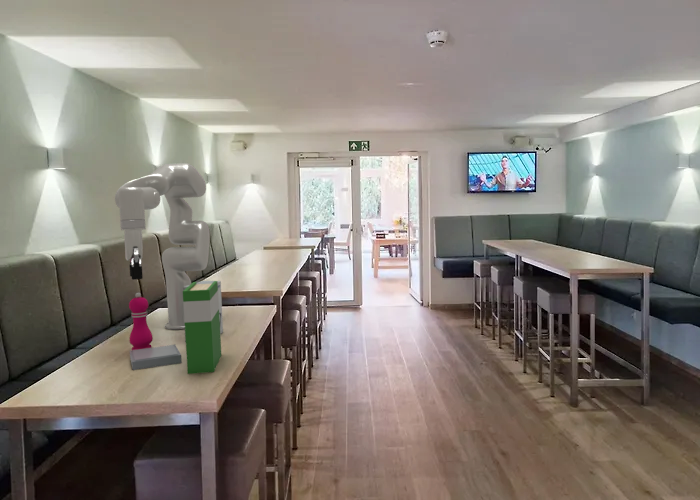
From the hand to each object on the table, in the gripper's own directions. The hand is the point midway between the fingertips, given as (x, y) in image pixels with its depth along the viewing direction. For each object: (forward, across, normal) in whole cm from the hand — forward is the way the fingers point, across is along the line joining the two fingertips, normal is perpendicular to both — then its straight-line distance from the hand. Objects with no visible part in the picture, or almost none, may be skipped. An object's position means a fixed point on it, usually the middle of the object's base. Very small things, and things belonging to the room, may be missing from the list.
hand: (136, 277), depth 179 cm
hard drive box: (+25, -9, +22) cm, 35 cm away
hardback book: (+26, +24, +17) cm, 39 cm away
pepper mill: (+25, -1, 0) cm, 25 cm away
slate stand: (+25, +12, +3) cm, 28 cm away
